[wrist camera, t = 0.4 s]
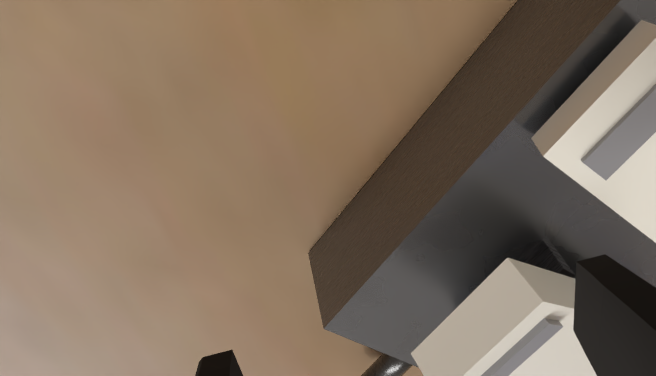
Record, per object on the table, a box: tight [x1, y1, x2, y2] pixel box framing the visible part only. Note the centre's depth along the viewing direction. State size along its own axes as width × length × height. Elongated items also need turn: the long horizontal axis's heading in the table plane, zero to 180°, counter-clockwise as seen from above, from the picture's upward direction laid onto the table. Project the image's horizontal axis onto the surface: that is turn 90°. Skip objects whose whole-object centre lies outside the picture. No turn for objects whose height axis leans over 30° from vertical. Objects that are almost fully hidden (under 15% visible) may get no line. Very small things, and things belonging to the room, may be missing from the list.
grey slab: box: [308, 0, 656, 376], centre depth 21 cm, size 12×26×5 cm, turn 144°
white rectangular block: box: [411, 258, 597, 376], centre depth 19 cm, size 8×4×2 cm, turn 53°
